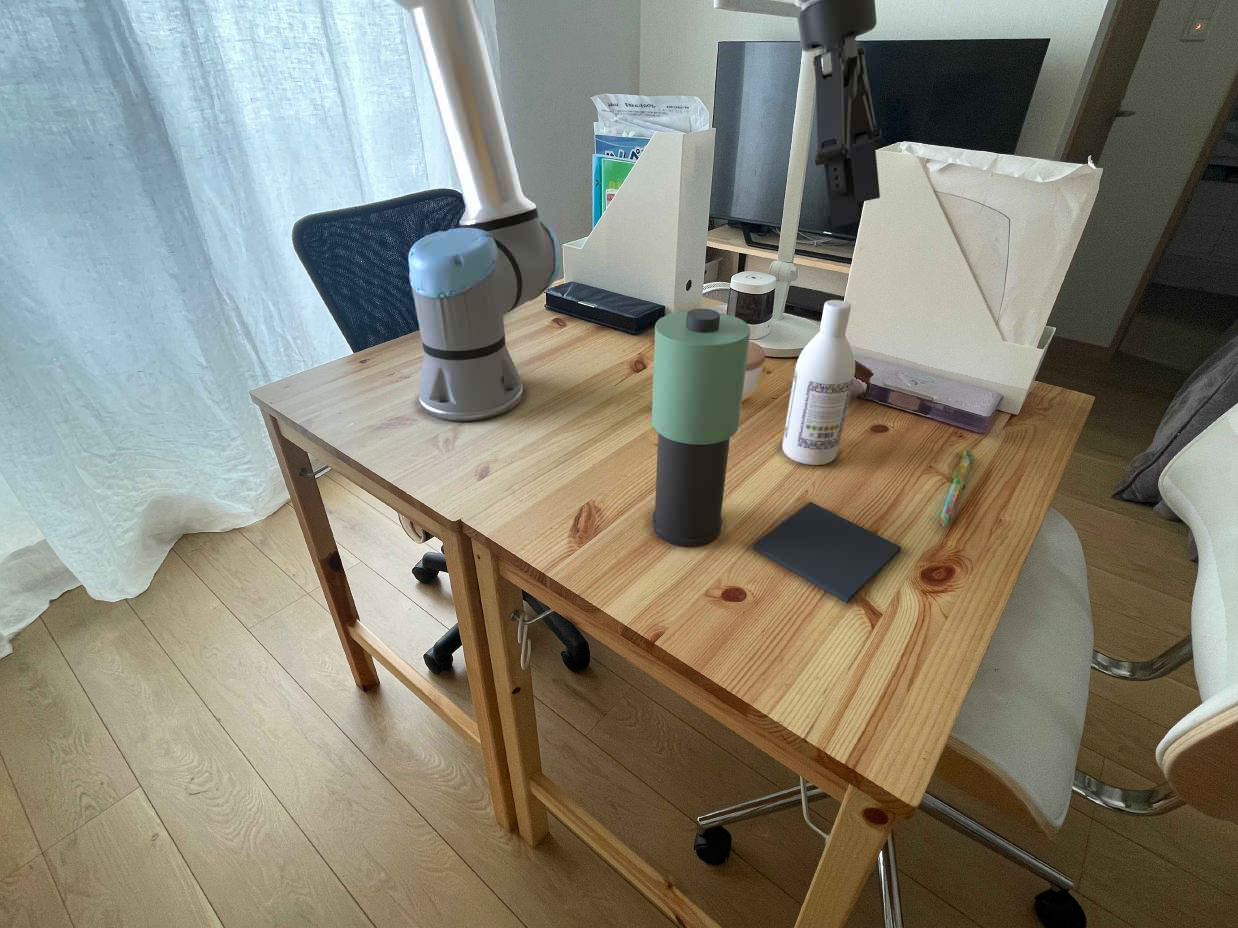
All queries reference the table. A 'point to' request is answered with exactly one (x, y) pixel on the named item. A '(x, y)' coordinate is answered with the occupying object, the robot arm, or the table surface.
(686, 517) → the cylinder
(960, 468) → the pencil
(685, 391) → the green knobbed cylinder
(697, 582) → the table surface
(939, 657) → the table surface
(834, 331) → the bath foam
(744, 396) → the white bowl with lid
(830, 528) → the mat
